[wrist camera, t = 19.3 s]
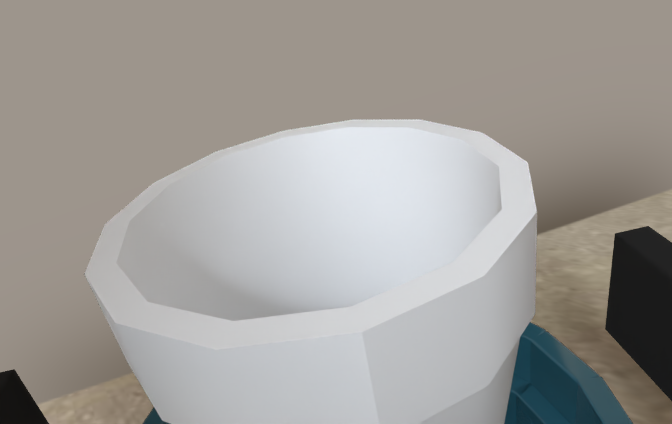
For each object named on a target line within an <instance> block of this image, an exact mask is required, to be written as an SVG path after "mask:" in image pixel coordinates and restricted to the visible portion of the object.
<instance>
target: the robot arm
mask: <svg viewBox="0 0 672 424" xmlns="http://www.w3.org/2000/svg"><path fill="white" fill-rule="evenodd" d="M605 329H606V330H607V331H608V333H609V334H610V335H611V336H612V337H613V338H614V339H615V340H616V341H617V342H618V343H619V345H620V346H621V347H622V348H623V349H624V350H625V351H626V352H627V353H628V354H629V355H630V356H631V358H632V359H633V360H634V361H635V362H636V363H637V364H638V365H639V366H640V367H641V368H642V369H643V371H644V372H645V373H646V374H647V375H648V376H649V377H650V378H651V379H652V380H653V381H654V382H655V384H656V385H657V386H658V387H659V388H660V389H661V390H662V391H663V392H664V393H665V394H666V395H667V397H668V398H669V399H670V400H671V401H672V243H671V242H670V241H669V240H667V239H666V238H664V237H663V236H662V235H660V234H659V233H657V232H656V231H654V230H653V229H652V228H650V227H649V226H646V227H642V228H638V229H633V230H629V231H624V232H620V233H615V239H614V249H613V259H612V269H611V279H610V288H609V298H608V308H607V318H606V328H605ZM0 424H49V423H48V422H47V420H46V418H45V417H44V415H43V414H42V412H41V411H40V409H39V407H38V406H37V404H36V403H35V401H34V400H33V398H32V397H31V395H30V393H29V392H28V390H27V389H26V387H25V385H24V384H23V382H22V381H21V379H20V377H19V376H18V374H17V373H16V371H15V370H10V371H5V372H1V373H0Z"/></svg>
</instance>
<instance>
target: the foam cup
mask: <svg viewBox="0 0 672 424" xmlns="http://www.w3.org/2000/svg"><path fill="white" fill-rule="evenodd" d="M536 237H537V210H536V204H535V199H534V194H533V188H532V183H531V178H530V172H529V167H528V162H526V161H525V160H523V159H521V158H520V157H519V156H517V155H516V154H514V153H513V152H511V151H510V150H508V149H507V148H505V147H504V146H502V145H500V144H499V143H497V142H496V141H494V140H493V139H491V138H490V137H488V136H487V135H485V134H484V133H482V132H477V131H472V130H468V129H463V128H458V127H454V126H449V125H444V124H439V123H434V122H430V121H425V120H348V121H341V122H335V123H329V124H322V125H317V126H310V127H304V128H297V129H291V130H285V131H281V132H278V133H274V134H271V135H268V136H265V137H261V138H258V139H255V140H252V141H248V142H245V143H242V144H239V145H236V146H232V147H229V148H226V149H223V150H219V151H216V152H214V153H212V154H210V155H208V156H206V157H204V158H202V159H200V160H198V161H196V162H194V163H192V164H190V165H188V166H186V167H184V168H182V169H180V170H178V171H176V172H174V173H172V174H170V175H168V176H166V177H164V178H162V179H160V180H158V181H156V182H154V183H153V184H152V185H150V186H149V187H148V188H147V189H146V190H144V191H143V192H142V193H141V194H140V195H139V196H137V197H136V198H135V199H134V200H133V201H132V202H130V203H129V204H128V205H127V206H126V207H125V208H123V209H122V210H121V211H120V212H119V213H117V214H116V215H115V216H114V217H113V218H112V219H110V220H109V221H108V222H107V223H106V224H105V225H104V227H103V230H102V232H101V234H100V237H99V239H98V242H97V244H96V247H95V249H94V252H93V254H92V256H91V259H90V261H89V264H88V266H87V269H86V271H85V273H84V275H85V277H86V279H87V281H88V283H89V285H90V287H91V289H92V291H93V293H94V295H95V297H96V299H97V301H98V303H99V306H100V308H101V310H102V312H103V314H104V315H105V318H106V320H107V322H108V324H109V326H110V328H111V330H112V332H113V334H114V336H115V338H116V340H117V342H118V344H119V346H120V348H121V350H122V353H123V355H124V357H125V359H126V360H127V362H128V364H129V366H130V368H131V369H132V371H133V373H134V374H135V376H136V378H137V379H138V381H139V383H140V384H141V386H142V388H143V389H144V391H145V393H146V394H147V396H148V398H149V399H150V401H151V403H152V404H153V406H154V408H155V409H156V411H157V413H158V414H159V416H160V418H161V419H162V421H165V422H167V423H170V424H504V422H505V417H506V411H507V406H508V400H509V395H510V389H511V384H512V379H513V373H514V368H515V362H516V357H517V351H518V346H519V340H520V336H521V335H522V333H523V332H524V330H525V329H526V327H527V326H528V324H529V323H530V321H531V320H532V318H533V316H534V315H535V293H536Z"/></svg>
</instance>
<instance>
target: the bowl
mask: <svg viewBox="0 0 672 424" xmlns="http://www.w3.org/2000/svg"><path fill="white" fill-rule="evenodd" d="M143 424H170V423H167V422H165V421H162V419H161V418H160V416H159V414H158V413H157V411H156V409H155V408H153V409H152V410H151V412H150V413H149V415H148V416H147V418H146V419H145V421H144V422H143ZM504 424H633V423H632V421H631V420H630V418H629V417H628V415H627V414H626V412H625V411H624V409H623V408H622V406H621V405H620V403H619V402H618V400H617V399H616V397H615V396H614V394H613V393H612V391H611V390H610V388H609V387H608V386H607V384H606V383H605V381H604V380H603V378H602V377H600V376H599V374H597V373H596V372H595V371H594V370H593V369H592V368H590V367H589V366H588V365H587V364H586V363H584V362H583V361H582V360H581V359H580V358H578V357H577V356H576V355H575V354H574V353H573V352H571V351H570V350H569V349H568V348H567V347H565V346H564V345H563V344H562V343H561V342H559V341H558V340H557V339H556V338H555V337H554V336H552V335H551V334H550V333H549V332H547V331H546V330H545V329H543V328H541V327H539V326H537V325H535V324H533V323H531V322H530V323H529V324H528V326H527V327H526V329H525V330H524V332H523V333H522V335H521V336H520V340H519V346H518V351H517V357H516V362H515V368H514V373H513V379H512V384H511V389H510V395H509V400H508V406H507V411H506V417H505V422H504Z"/></svg>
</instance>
